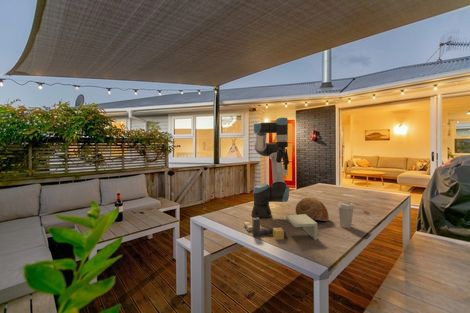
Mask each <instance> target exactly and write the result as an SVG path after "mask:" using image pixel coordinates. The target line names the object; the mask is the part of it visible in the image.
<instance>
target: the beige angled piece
mask: <svg viewBox="0 0 470 313" xmlns="http://www.w3.org/2000/svg"><path fill="white" fill-rule="evenodd" d="M285 219H287V221H288V222H289V223H290V224H291V225H292V226H293V227H294V228H303V229H302V230H304V232H306V233H307V234H308V235H309V236H310V237H311V238H312V239H313V240H314V241H317V240H318V222H316V220H314V219H311V218H310V217H308V216H307V215H306V214H302V215H297V214H286V215H285Z"/></svg>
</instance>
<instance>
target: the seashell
mask: <svg viewBox="0 0 470 313" xmlns="http://www.w3.org/2000/svg"><path fill="white" fill-rule="evenodd" d="M302 214H306V215H307V216H308V217H310V218H311V219H312V220H314V221H316V220H317V221H324V222H329V219H330V218H329V211H328V209H327V208H326V206H325V204H324V203H323V202H322V201H321V200H319V199H318V198H317V199H316V198H315V197H304V198H302V199H301V200H300V201H299V202H298V203H297V204H296V206H295V215H302Z"/></svg>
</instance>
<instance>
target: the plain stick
mask: <svg viewBox="0 0 470 313" xmlns="http://www.w3.org/2000/svg"><path fill="white" fill-rule="evenodd" d="M244 226H245V227H246V228H245V227H244ZM243 227H244V228H245V229H246V231H247V230H248V231H251V232H252V223H250V222H249V221H244V222H243ZM248 231H247V232H248Z"/></svg>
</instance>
